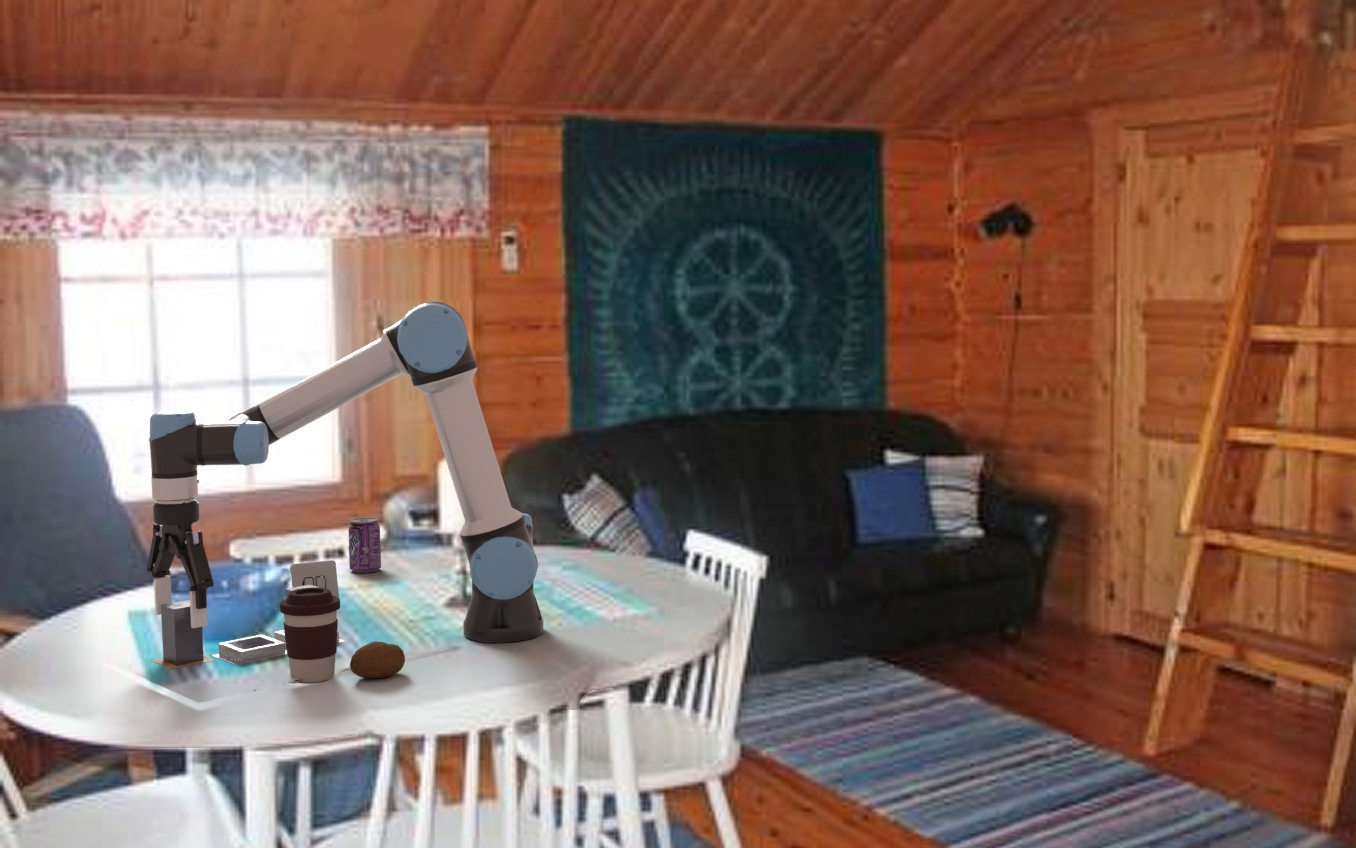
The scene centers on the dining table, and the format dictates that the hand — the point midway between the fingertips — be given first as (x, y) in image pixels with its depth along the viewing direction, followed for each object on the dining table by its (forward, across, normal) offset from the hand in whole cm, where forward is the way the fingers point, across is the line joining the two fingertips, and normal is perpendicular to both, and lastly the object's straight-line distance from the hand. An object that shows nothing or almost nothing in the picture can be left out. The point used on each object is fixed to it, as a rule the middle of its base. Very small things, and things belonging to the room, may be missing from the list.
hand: (181, 620), depth 250 cm
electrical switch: (+8, +24, -40) cm, 47 cm away
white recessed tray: (+8, -5, -16) cm, 19 cm away
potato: (+8, -31, -20) cm, 38 cm away
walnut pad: (+8, 0, 0) cm, 8 cm away
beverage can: (+8, +45, -66) cm, 80 cm away
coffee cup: (+8, -23, -12) cm, 27 cm away
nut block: (+7, 0, 0) cm, 7 cm away
